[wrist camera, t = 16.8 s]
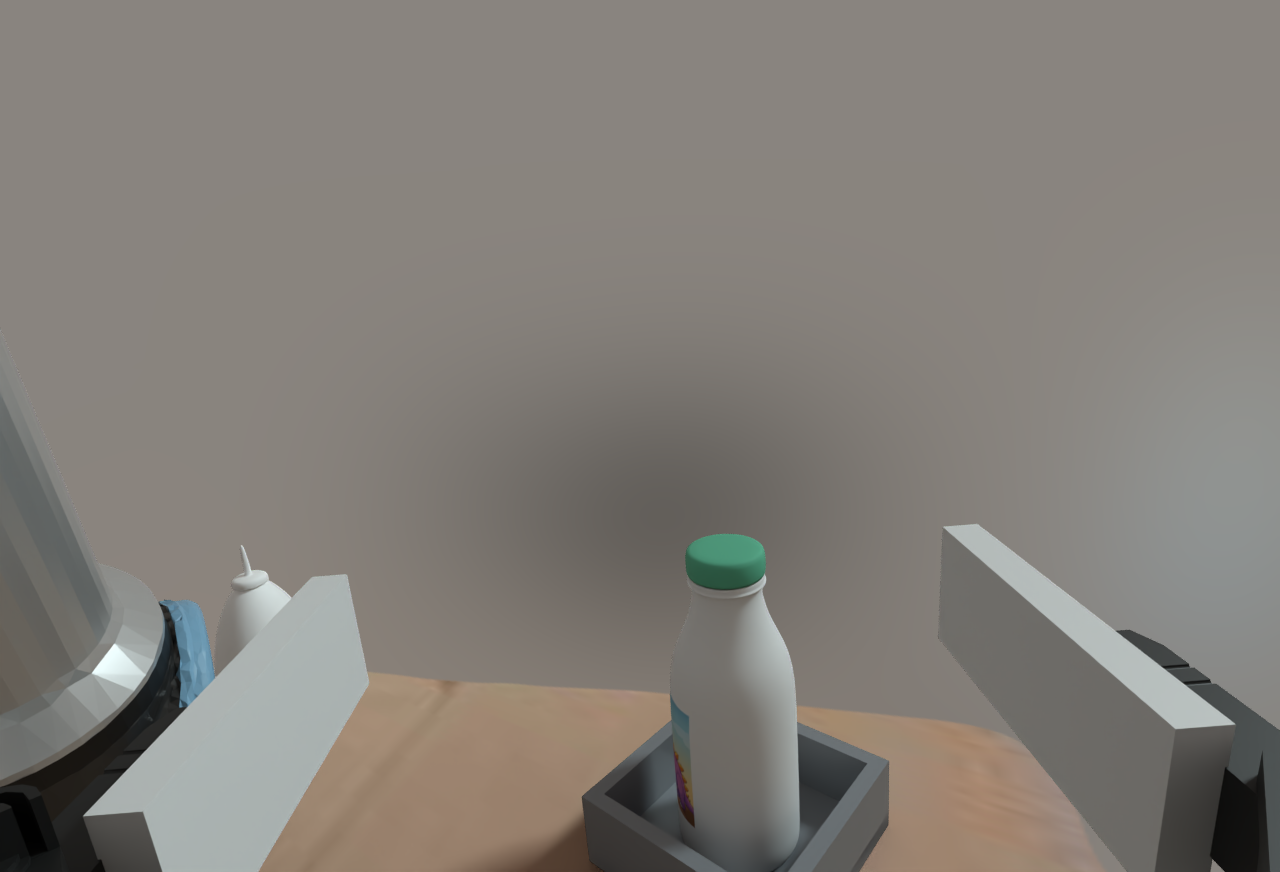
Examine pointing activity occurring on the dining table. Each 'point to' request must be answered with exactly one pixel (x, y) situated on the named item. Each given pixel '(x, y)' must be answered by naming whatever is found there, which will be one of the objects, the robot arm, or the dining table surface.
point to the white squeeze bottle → (246, 612)
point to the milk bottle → (734, 713)
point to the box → (666, 868)
